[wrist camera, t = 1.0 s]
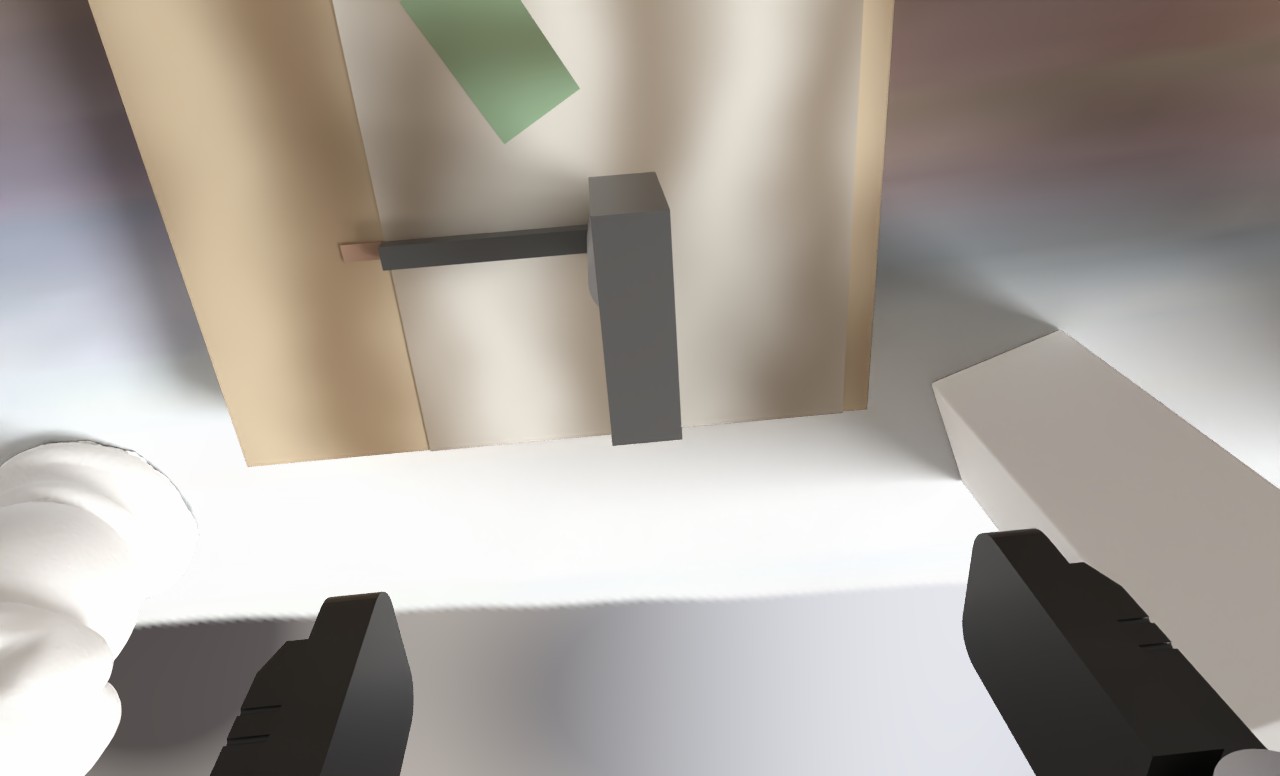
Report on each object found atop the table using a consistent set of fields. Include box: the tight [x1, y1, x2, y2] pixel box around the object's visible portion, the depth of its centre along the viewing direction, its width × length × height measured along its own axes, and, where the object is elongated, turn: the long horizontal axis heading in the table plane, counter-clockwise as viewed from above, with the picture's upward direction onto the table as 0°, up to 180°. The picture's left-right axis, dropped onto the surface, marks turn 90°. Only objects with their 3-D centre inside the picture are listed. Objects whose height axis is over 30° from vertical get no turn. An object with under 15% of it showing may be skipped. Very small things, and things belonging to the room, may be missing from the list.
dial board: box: [88, 0, 894, 467], centre depth 29 cm, size 24×18×4 cm
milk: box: [932, 330, 1280, 752], centre depth 27 cm, size 6×6×22 cm
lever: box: [378, 172, 682, 446], centre depth 23 cm, size 9×6×9 cm, turn 94°
